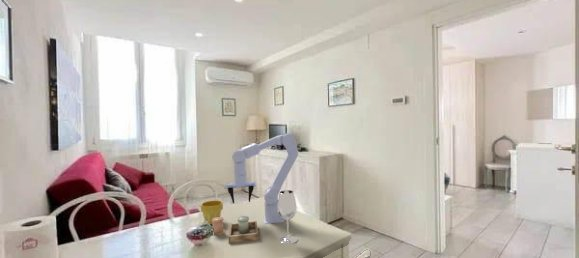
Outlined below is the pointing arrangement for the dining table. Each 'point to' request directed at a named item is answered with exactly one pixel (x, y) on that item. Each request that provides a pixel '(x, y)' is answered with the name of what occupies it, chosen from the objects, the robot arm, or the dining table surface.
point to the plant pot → (211, 210)
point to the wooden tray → (241, 237)
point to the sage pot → (243, 224)
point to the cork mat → (221, 233)
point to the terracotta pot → (218, 225)
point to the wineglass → (287, 212)
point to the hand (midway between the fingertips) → (241, 202)
